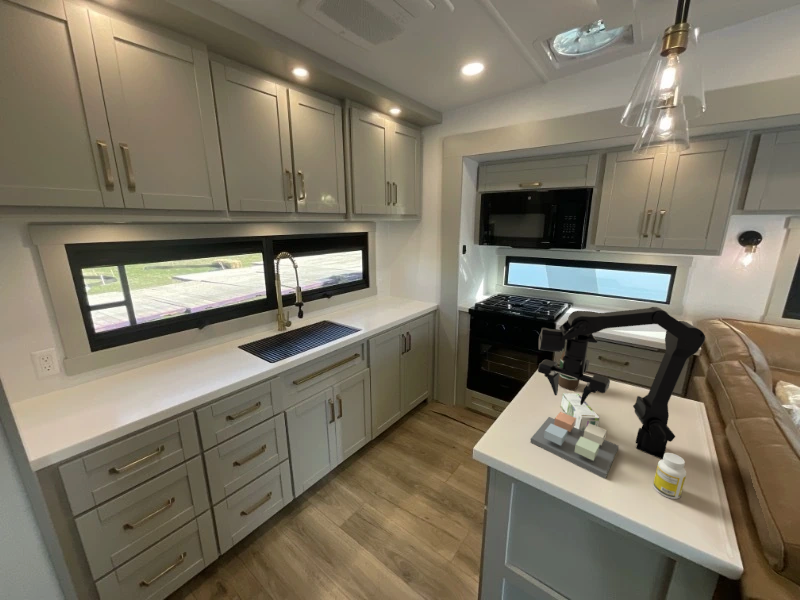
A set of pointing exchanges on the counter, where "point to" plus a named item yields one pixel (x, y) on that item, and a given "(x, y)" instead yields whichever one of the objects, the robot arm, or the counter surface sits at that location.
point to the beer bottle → (567, 379)
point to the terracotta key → (565, 421)
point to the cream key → (595, 433)
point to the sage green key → (587, 448)
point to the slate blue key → (555, 434)
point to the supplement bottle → (670, 476)
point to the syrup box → (578, 410)
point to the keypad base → (568, 447)
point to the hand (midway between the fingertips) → (568, 399)
